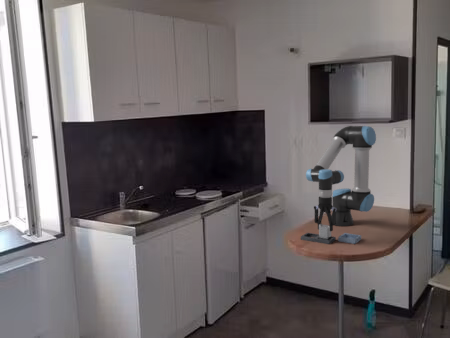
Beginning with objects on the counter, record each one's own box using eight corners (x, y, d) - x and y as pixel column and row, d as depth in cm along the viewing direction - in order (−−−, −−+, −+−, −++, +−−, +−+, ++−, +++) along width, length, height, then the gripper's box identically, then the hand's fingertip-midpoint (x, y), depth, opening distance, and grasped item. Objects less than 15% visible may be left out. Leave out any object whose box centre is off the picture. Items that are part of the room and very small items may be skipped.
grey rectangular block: (323, 239, 267) (323, 224, 266) (331, 240, 264) (331, 225, 263) (319, 241, 263) (319, 226, 262) (327, 242, 260) (327, 227, 259)
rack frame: (307, 235, 275) (307, 232, 275) (335, 240, 264) (335, 237, 264) (300, 239, 268) (300, 236, 268) (329, 244, 257) (329, 240, 257)
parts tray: (344, 237, 270) (344, 232, 270) (361, 239, 264) (361, 235, 264) (338, 241, 262) (338, 237, 262) (354, 244, 257) (355, 239, 256)
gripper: (308, 196, 262) (308, 235, 265) (337, 199, 252) (337, 239, 255) (313, 193, 268) (313, 232, 271) (342, 196, 258) (342, 236, 261)
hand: (325, 235), depth 263 cm, fingers closed on grey rectangular block, 5 cm apart
